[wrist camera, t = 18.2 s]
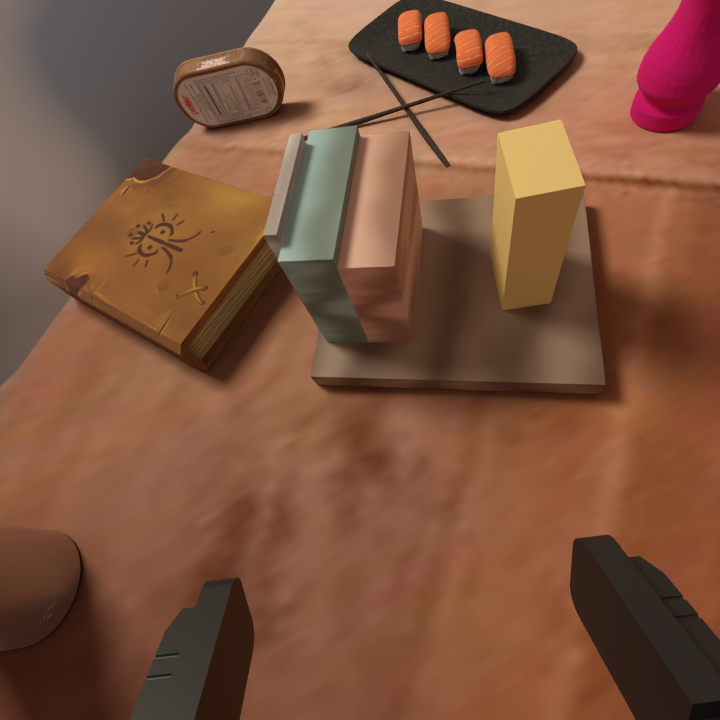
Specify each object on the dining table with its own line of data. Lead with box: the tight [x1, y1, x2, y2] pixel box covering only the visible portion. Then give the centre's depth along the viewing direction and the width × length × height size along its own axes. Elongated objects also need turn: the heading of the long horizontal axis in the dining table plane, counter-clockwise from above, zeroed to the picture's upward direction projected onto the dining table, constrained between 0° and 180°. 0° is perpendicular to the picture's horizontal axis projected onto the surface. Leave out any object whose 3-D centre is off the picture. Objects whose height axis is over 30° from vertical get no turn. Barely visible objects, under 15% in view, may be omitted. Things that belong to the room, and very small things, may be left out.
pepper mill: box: [630, 0, 720, 132], centre depth 38 cm, size 7×7×20 cm
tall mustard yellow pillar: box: [490, 120, 585, 310], centre depth 34 cm, size 4×6×13 cm, turn 2°
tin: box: [173, 47, 285, 128], centre depth 59 cm, size 15×3×8 cm, turn 89°
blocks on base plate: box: [263, 125, 606, 394], centre depth 36 cm, size 24×20×15 cm
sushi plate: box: [304, 0, 577, 167], centre depth 56 cm, size 29×30×4 cm
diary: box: [44, 159, 281, 372], centre depth 50 cm, size 23×19×6 cm
